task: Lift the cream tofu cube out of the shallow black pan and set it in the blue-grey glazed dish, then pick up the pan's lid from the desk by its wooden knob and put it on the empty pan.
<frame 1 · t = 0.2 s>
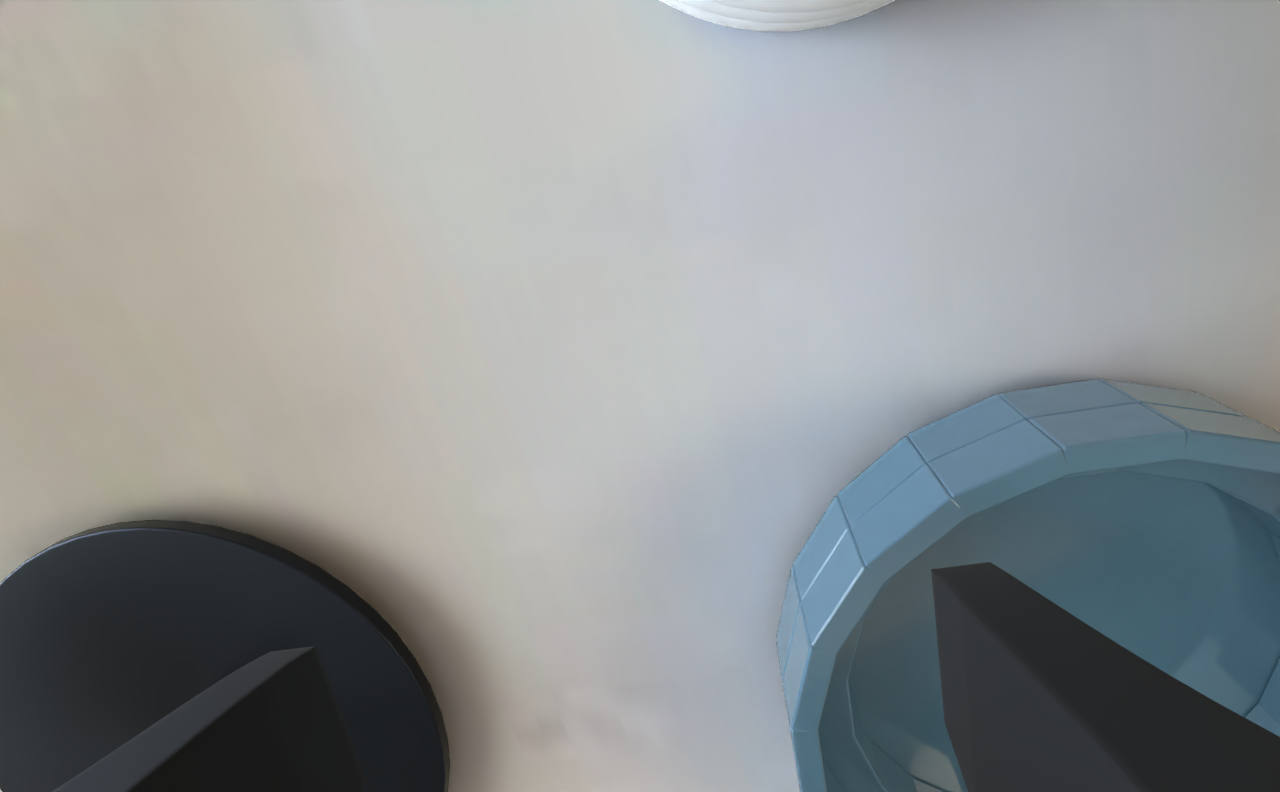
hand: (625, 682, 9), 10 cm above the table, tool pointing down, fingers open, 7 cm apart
dish: (1046, 630, 19), on the table
pan lid: (213, 735, 22), point 1 cm above the table
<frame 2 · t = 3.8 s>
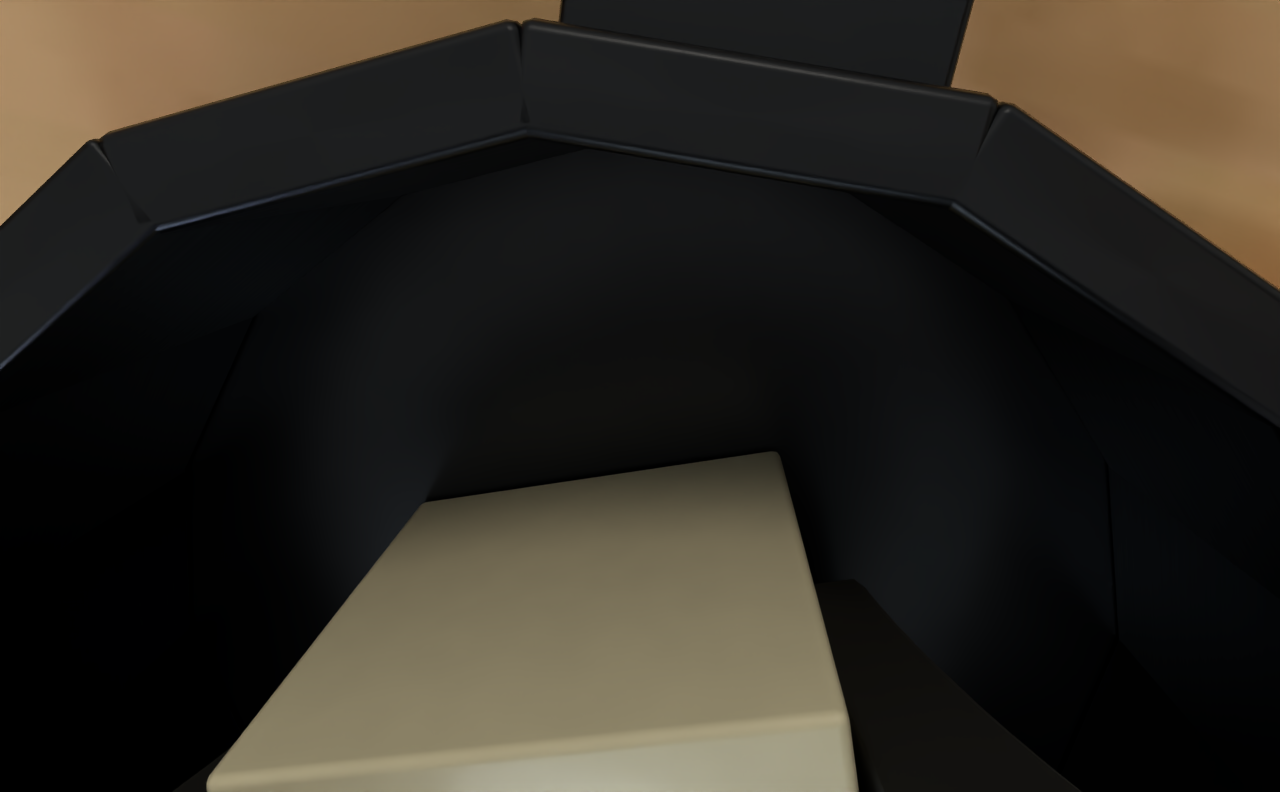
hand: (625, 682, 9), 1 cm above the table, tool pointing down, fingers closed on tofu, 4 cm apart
tofu: (629, 630, 10), resting on pan, touching gripper
pan: (634, 612, 10), on the table
when the fingers open (1 cm above the table, at t = 9.0 s): tofu stays where it is, resting on dish.
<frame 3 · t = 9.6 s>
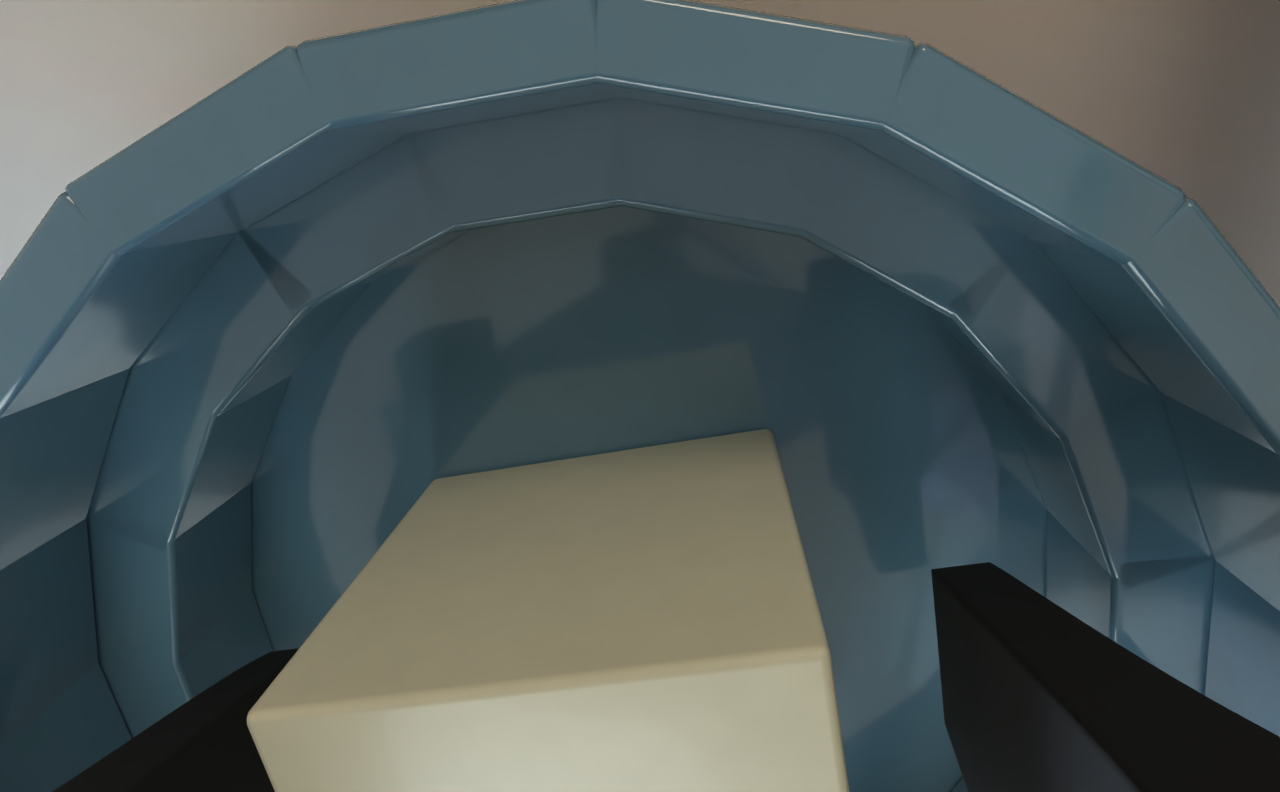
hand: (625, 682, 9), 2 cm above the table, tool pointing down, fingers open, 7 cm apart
tofu: (630, 601, 10), point 1 cm above the table, touching dish
dish: (637, 584, 11), on the table
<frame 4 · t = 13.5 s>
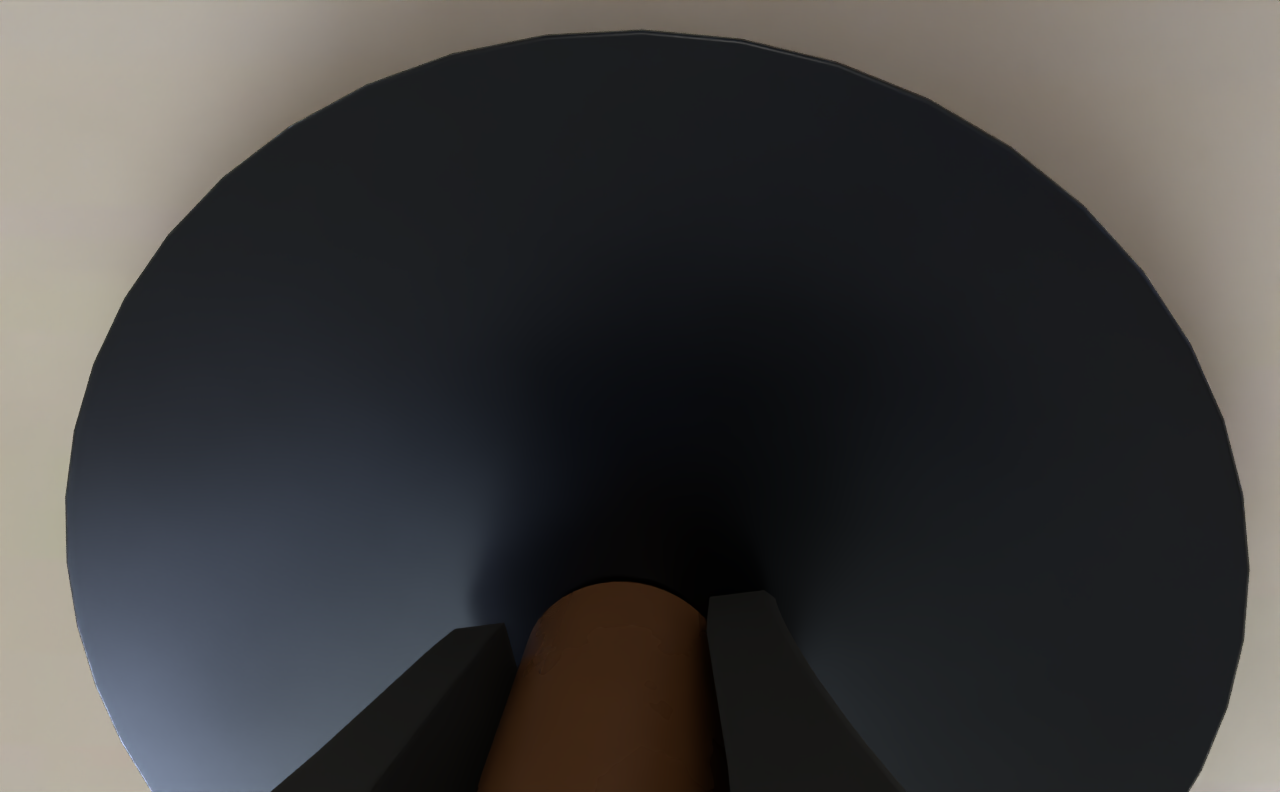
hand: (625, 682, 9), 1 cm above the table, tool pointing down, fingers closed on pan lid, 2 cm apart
pan lid: (629, 640, 10), point 1 cm above the table, touching gripper
when the fingers open (5 cm above the table, at t = 19.5 s): pan lid stays where it is, resting on pan.
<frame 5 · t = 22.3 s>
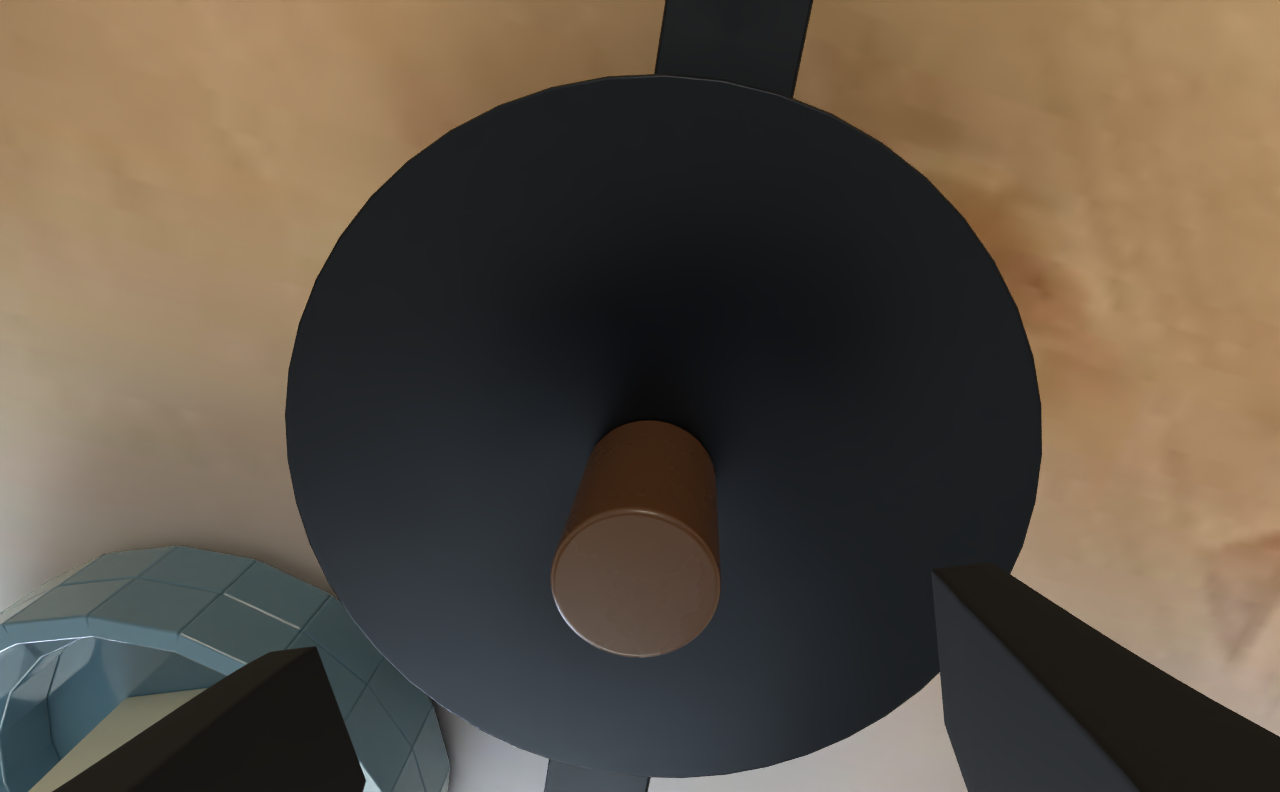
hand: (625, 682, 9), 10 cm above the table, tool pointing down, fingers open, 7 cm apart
tofu: (220, 749, 22), point 1 cm above the table, touching dish
pan: (664, 399, 19), on the table
dish: (232, 738, 23), on the table
pan lid: (651, 469, 14), point 4 cm above the table, touching pan
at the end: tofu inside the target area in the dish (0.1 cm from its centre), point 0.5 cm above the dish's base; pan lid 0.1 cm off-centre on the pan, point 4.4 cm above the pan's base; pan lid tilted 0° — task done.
